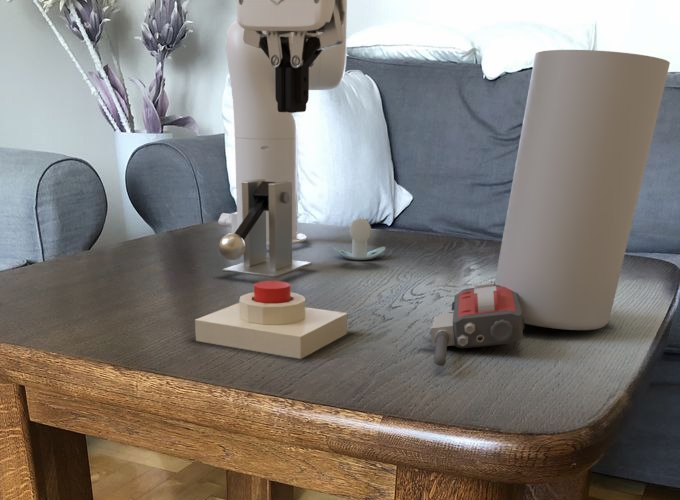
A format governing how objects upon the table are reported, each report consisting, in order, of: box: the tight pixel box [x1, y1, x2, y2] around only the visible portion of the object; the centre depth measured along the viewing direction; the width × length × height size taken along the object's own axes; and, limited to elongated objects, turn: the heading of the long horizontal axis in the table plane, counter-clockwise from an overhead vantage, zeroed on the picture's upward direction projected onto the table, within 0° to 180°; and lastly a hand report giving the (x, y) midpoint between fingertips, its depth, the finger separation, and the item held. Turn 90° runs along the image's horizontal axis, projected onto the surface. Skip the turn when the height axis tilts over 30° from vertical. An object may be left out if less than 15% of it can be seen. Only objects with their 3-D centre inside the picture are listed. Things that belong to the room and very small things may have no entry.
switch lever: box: [218, 181, 275, 261], centre depth 104 cm, size 13×3×3 cm, turn 152°
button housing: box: [194, 291, 348, 360], centre depth 82 cm, size 12×10×4 cm
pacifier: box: [333, 217, 386, 261], centre depth 115 cm, size 7×6×6 cm
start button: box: [253, 280, 291, 304], centre depth 81 cm, size 4×4×2 cm
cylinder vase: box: [494, 49, 671, 331], centre depth 84 cm, size 12×12×25 cm
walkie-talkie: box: [430, 282, 525, 367], centre depth 80 cm, size 9×4×20 cm
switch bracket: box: [222, 179, 312, 279], centre depth 108 cm, size 10×8×12 cm
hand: (292, 111), depth 84 cm, fingers closed
